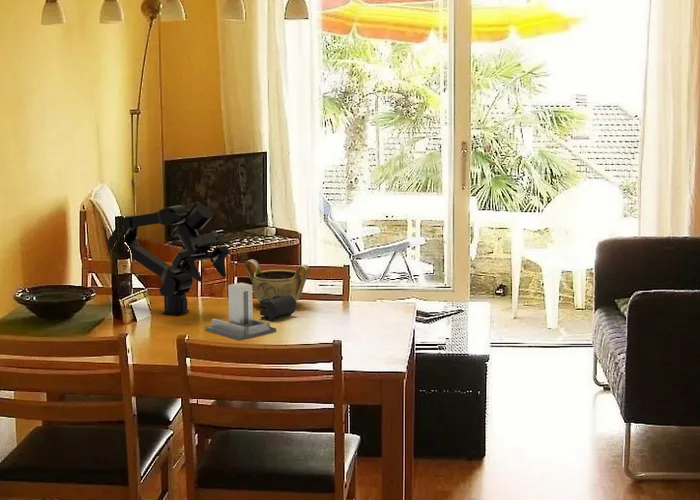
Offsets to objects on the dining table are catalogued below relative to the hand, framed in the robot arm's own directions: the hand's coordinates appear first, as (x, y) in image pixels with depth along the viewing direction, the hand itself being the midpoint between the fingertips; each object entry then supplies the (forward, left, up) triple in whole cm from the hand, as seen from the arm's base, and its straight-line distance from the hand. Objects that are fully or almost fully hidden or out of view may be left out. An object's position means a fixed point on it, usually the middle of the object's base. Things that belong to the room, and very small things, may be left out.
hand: (213, 279), depth 312 cm
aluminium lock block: (+13, -6, -12) cm, 19 cm away
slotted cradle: (+13, -6, -14) cm, 20 cm away
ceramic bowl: (+9, +27, -14) cm, 31 cm away
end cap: (+16, +13, -14) cm, 25 cm away
